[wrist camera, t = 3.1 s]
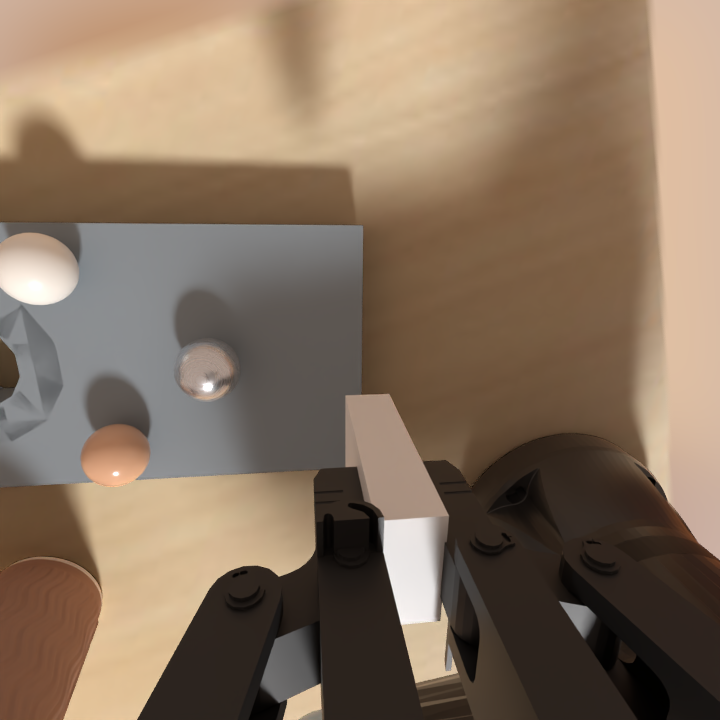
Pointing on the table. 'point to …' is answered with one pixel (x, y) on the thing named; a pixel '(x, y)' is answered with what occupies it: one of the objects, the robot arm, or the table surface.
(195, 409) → the tray
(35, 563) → the coffee cup
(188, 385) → the steel ball
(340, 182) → the table surface
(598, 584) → the robot arm
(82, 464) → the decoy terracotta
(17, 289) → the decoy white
